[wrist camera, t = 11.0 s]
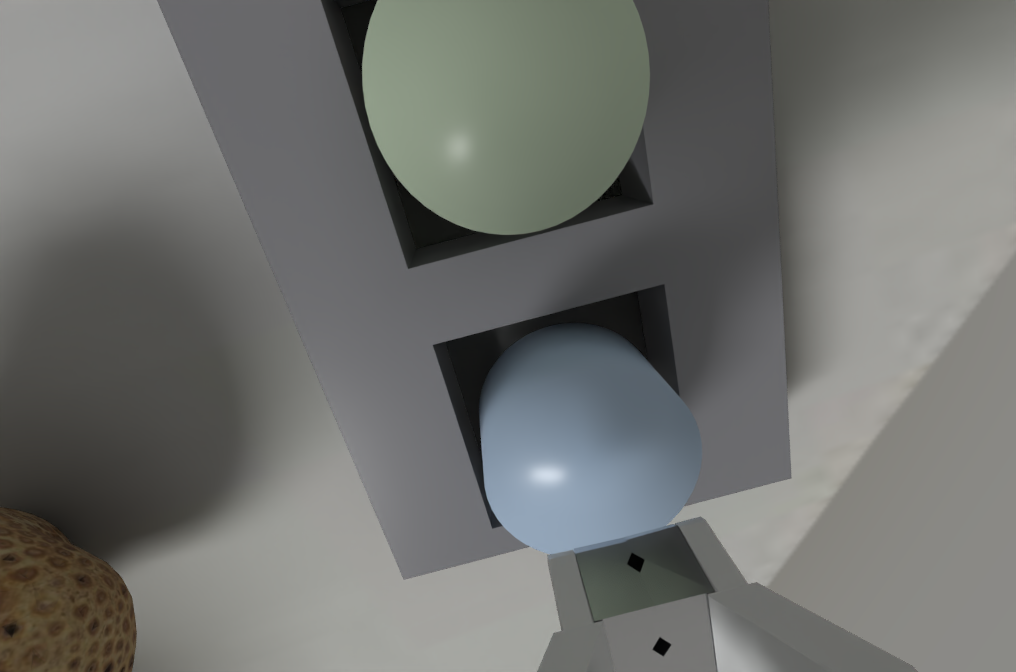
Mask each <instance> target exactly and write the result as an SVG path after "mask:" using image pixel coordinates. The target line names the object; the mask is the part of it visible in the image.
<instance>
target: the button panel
mask: <svg viewBox="0 0 1016 672" xmlns="http://www.w3.org/2000/svg"><path fill="white" fill-rule="evenodd" d="M157 1H158V4H159V6H160V8H161V11H162V13H163V15H164V18H165V20H166V22H167V25H168V27H169V29H170V32H171V34H172V36H173V39H174V41H175V43H176V46H177V48H178V50H179V53H180V55H181V58H182V60H183V62H184V65H185V67H186V69H187V72H188V74H189V76H190V79H191V81H192V83H193V86H194V88H195V90H196V93H197V95H198V97H199V100H200V102H201V105H202V107H203V109H204V112H205V114H206V116H207V119H208V121H209V123H210V126H211V128H212V130H213V133H214V135H215V137H216V140H217V142H218V144H219V147H220V149H221V152H222V154H223V156H224V159H225V161H226V163H227V166H228V168H229V170H230V173H231V175H232V177H233V180H234V182H235V184H236V187H237V189H238V191H239V194H240V196H241V199H242V201H243V203H244V206H245V208H246V210H247V213H248V215H249V217H250V220H251V222H252V224H253V227H254V229H255V231H256V234H257V236H258V238H259V241H260V243H261V246H262V248H263V250H264V253H265V255H266V257H267V260H268V262H269V264H270V267H271V269H272V271H273V274H274V276H275V278H276V281H277V283H278V285H279V288H280V290H281V292H282V295H283V297H284V300H285V302H286V304H287V307H288V309H289V311H290V314H291V316H292V318H293V321H294V323H295V325H296V328H297V330H298V332H299V335H300V337H301V339H302V342H303V344H304V347H305V349H306V351H307V354H308V356H309V358H310V361H311V363H312V365H313V368H314V370H315V372H316V375H317V377H318V379H319V382H320V384H321V386H322V389H323V391H324V394H325V396H326V398H327V401H328V403H329V405H330V408H331V410H332V412H333V415H334V417H335V419H336V422H337V424H338V426H339V429H340V431H341V433H342V436H343V438H344V441H345V443H346V445H347V448H348V450H349V452H350V455H351V457H352V459H353V462H354V464H355V466H356V469H357V471H358V473H359V476H360V478H361V480H362V483H363V485H364V487H365V490H366V492H367V495H368V497H369V499H370V502H371V504H372V506H373V509H374V511H375V513H376V516H377V518H378V520H379V523H380V525H381V527H382V530H383V532H384V534H385V537H386V539H387V542H388V544H389V546H390V549H391V551H392V553H393V556H394V558H395V560H396V563H397V565H398V567H399V570H400V572H401V574H402V577H403V579H404V580H405V579H409V578H412V577H416V576H420V575H424V574H428V573H432V572H435V571H439V570H443V569H447V568H451V567H454V566H458V565H462V564H466V563H470V562H473V561H477V560H481V559H485V558H489V557H493V556H496V555H500V554H504V553H508V552H512V551H515V550H519V549H523V548H527V547H530V546H528V545H526V544H524V543H523V542H521V541H520V540H518V539H517V538H515V537H514V536H513V535H512V534H511V533H509V532H508V531H507V530H506V529H505V528H504V527H503V525H502V524H501V523H500V522H499V521H498V519H497V517H496V516H495V514H494V513H493V511H492V509H491V506H490V504H489V502H488V499H487V495H486V491H485V486H484V473H483V460H482V457H481V454H480V451H479V447H478V444H477V441H476V438H475V435H474V432H473V428H472V425H471V422H470V419H469V416H468V412H467V409H466V406H465V403H464V400H463V397H462V393H461V390H460V387H459V384H458V381H457V377H456V374H455V371H454V368H453V365H452V361H451V358H450V355H449V352H448V349H447V346H446V341H449V340H453V339H457V338H461V337H465V336H468V335H472V334H476V333H480V332H484V331H487V330H491V329H495V328H499V327H503V326H506V325H510V324H514V323H518V322H522V321H525V320H529V319H533V318H537V317H541V316H544V315H548V314H552V313H556V312H560V311H563V310H567V309H571V308H575V307H579V306H582V305H586V304H590V303H594V302H598V301H601V300H605V299H609V298H613V297H617V296H621V295H624V294H628V293H632V292H636V291H637V293H638V300H639V306H640V312H641V319H642V325H643V331H644V338H645V344H646V351H647V357H648V362H649V363H650V364H651V365H652V366H653V367H654V369H655V370H656V371H657V372H658V373H659V374H660V375H661V377H662V378H663V379H664V380H665V381H666V382H667V383H668V384H669V386H670V387H671V388H672V389H673V390H674V391H675V392H676V394H677V395H678V396H679V397H680V398H681V399H682V401H683V402H684V403H685V404H686V405H687V407H688V408H689V409H690V411H691V413H692V415H693V416H694V418H695V420H696V423H697V426H698V428H699V431H700V436H701V441H702V463H701V469H700V473H699V477H698V480H697V482H696V485H695V487H694V490H693V492H692V494H691V495H690V497H689V499H688V501H687V502H686V504H685V505H684V506H687V505H691V504H695V503H698V502H702V501H706V500H710V499H714V498H718V497H721V496H725V495H729V494H733V493H737V492H740V491H744V490H748V489H752V488H756V487H759V486H763V485H767V484H771V483H775V482H779V481H782V480H786V479H790V478H791V460H790V439H789V419H788V398H787V377H786V356H785V336H784V315H783V294H782V273H781V253H780V232H779V211H778V190H777V170H776V149H775V128H774V107H773V87H772V66H771V45H770V24H769V4H768V0H633V2H634V4H635V6H636V8H637V11H638V13H639V16H640V19H641V22H642V26H643V29H644V32H645V37H646V42H647V47H648V53H649V66H650V86H649V98H648V104H647V110H646V116H645V119H644V123H643V126H642V130H641V133H640V136H639V138H638V141H637V143H636V146H635V148H634V150H633V152H632V154H631V156H630V158H629V160H628V161H627V163H626V165H625V167H624V169H623V170H622V171H621V173H620V174H619V179H620V185H621V192H622V195H620V196H616V197H613V198H609V199H605V200H601V201H597V202H594V203H592V204H591V205H590V206H589V207H588V208H586V209H585V210H583V211H582V212H580V213H579V214H577V215H576V216H574V217H573V218H571V219H569V220H566V221H564V222H562V223H560V224H558V225H556V226H553V227H550V228H547V229H544V230H541V231H536V232H531V233H526V234H515V235H500V234H488V233H484V232H480V233H476V234H472V235H468V236H464V237H461V238H457V239H453V240H449V241H445V242H442V243H438V244H434V245H430V246H427V247H423V248H419V249H416V247H415V244H414V240H413V237H412V234H411V231H410V228H409V224H408V221H407V218H406V215H405V212H404V209H403V205H402V202H401V199H400V196H399V193H398V189H397V186H396V183H395V180H394V177H393V173H392V170H391V169H390V167H389V166H388V164H387V162H386V161H385V159H384V157H383V155H382V153H381V151H380V149H379V147H378V145H377V143H376V140H375V137H374V135H373V132H372V130H371V127H370V123H369V119H368V115H367V112H366V108H365V101H364V93H363V86H362V75H361V72H360V68H359V65H358V62H357V59H356V56H355V52H354V49H353V46H352V43H351V40H350V36H349V33H348V30H347V27H346V24H345V21H344V17H343V14H342V11H341V8H343V7H347V6H351V5H355V4H358V3H362V2H366V1H370V0H157Z"/></svg>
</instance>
